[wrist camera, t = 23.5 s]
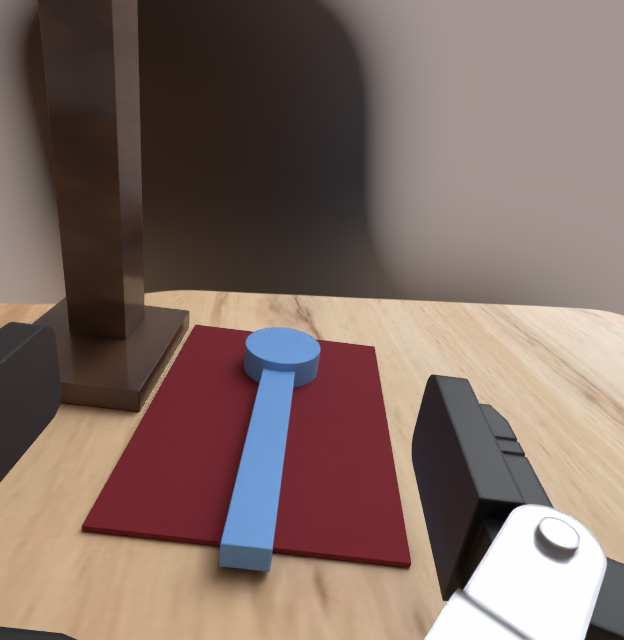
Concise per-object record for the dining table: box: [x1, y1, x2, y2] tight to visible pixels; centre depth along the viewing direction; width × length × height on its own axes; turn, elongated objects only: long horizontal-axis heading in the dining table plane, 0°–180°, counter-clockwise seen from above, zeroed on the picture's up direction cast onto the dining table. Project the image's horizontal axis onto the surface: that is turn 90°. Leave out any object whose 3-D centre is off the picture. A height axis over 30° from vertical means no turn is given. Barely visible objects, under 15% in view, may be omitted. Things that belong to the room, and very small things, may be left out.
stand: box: [33, 0, 189, 411], centre depth 29 cm, size 10×13×32 cm
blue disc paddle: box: [219, 328, 320, 572], centre depth 30 cm, size 5×20×2 cm, turn 178°
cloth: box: [82, 325, 411, 567], centre depth 32 cm, size 15×21×1 cm
